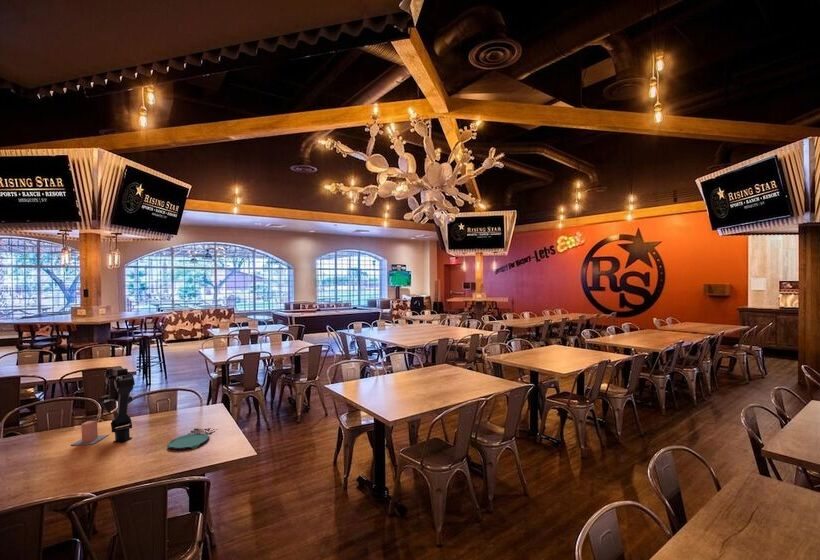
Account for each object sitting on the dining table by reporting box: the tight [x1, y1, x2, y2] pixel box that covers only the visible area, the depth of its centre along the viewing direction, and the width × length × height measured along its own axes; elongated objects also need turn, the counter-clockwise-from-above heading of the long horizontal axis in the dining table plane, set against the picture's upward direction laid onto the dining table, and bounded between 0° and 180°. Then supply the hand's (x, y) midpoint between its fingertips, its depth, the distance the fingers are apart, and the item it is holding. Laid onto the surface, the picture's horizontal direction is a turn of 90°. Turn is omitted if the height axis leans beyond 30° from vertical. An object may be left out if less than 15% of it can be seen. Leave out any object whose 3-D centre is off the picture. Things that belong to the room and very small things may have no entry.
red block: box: [81, 420, 99, 442], centre depth 224 cm, size 5×5×10 cm
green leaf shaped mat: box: [166, 427, 211, 450], centre depth 222 cm, size 20×30×2 cm, turn 179°
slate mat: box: [70, 434, 109, 447], centre depth 224 cm, size 12×12×1 cm
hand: (115, 413), depth 234 cm, fingers open, 9 cm apart
